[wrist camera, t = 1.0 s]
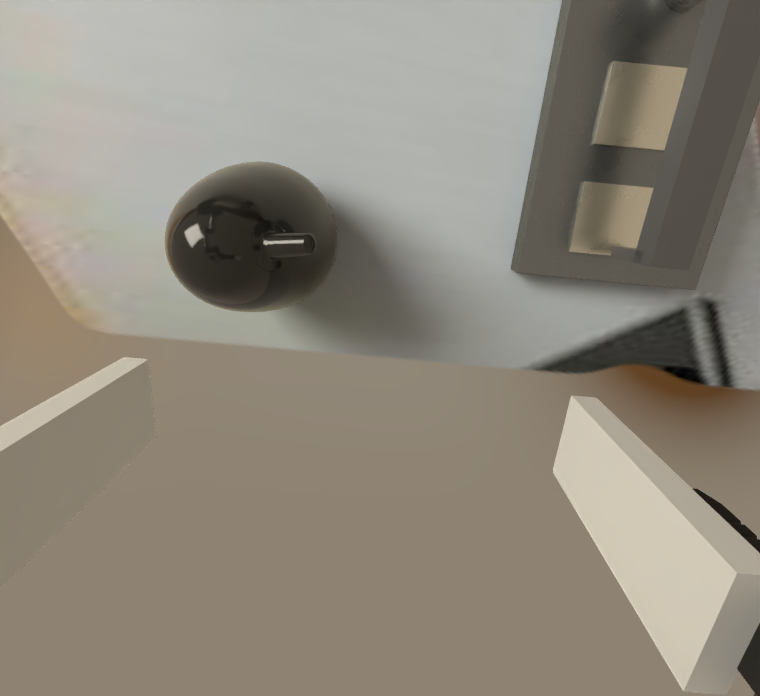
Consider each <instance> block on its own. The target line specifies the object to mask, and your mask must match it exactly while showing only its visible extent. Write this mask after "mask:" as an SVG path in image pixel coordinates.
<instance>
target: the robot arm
mask: <svg viewBox="0 0 760 696" xmlns="http://www.w3.org/2000/svg"><path fill="white" fill-rule="evenodd" d="M155 438H156V427H155V418H154V408H153V398H152V389H151V379H150V369H149V360H148V359H139V358H127V357H124V358H122V359H120V360H118V361H116V362H115V363H113V364H111V365H109V366H107V367H105V368H104V369H102V370H100V371H98V372H97V373H95V374H93V375H91V376H89V377H88V378H86V379H84V380H82V381H80V382H79V383H77V384H75V385H73V386H72V387H70V388H68V389H66V390H64V391H63V392H61V393H59V394H57V395H56V396H54V397H52V398H50V399H48V400H46V401H45V402H43V403H41V404H39V405H38V406H36V407H34V408H32V409H30V410H29V411H27V412H25V413H23V414H21V415H20V416H18V417H16V418H14V419H13V420H11V421H9V422H7V423H5V424H4V425H2V426H0V589H1V588H2V587H3V586H4V585H5V584H6V583H7V582H8V581H9V580H10V579H11V578H12V577H13V576H14V575H15V574H16V573H17V572H18V571H19V570H20V569H21V568H22V567H23V566H25V564H26V563H28V561H30V560H31V559H32V558H33V557H34V556H35V555H36V554H37V553H38V552H39V551H40V550H41V549H42V548H43V547H44V546H45V545H46V544H47V543H48V542H49V541H50V540H51V539H52V538H53V537H54V536H55V535H56V534H57V533H58V532H60V531H61V529H63V528H64V527H65V526H66V525H67V524H68V523H69V522H70V521H71V520H72V519H73V518H74V517H75V516H76V515H77V514H78V513H79V512H80V511H81V510H82V509H83V508H84V507H85V506H86V505H87V504H88V503H89V502H90V501H91V500H92V499H93V498H94V497H95V496H96V495H98V494H99V493H100V492H101V491H102V490H103V489H104V488H105V487H106V486H107V485H108V484H109V483H110V482H111V481H112V480H113V479H114V478H115V477H116V476H117V475H118V474H119V473H120V472H121V471H122V470H123V469H124V468H125V467H126V466H127V465H128V464H130V463H131V461H132V460H133V459H134V458H136V457H137V456H138V455H139V454H140V453H141V452H142V451H143V450H144V449H145V448H146V447H147V446H148V445H149V444H150V443H151V442H152V441H153V440H154V439H155ZM553 473H554V475H555V476H556V478H557V480H558V481H559V483H560V485H561V487H562V488H563V490H564V492H565V493H566V495H567V497H568V498H569V500H570V502H571V503H572V505H573V507H574V508H575V510H576V512H577V513H578V515H579V517H580V519H581V520H582V522H583V523H584V525H585V527H586V529H587V530H588V532H589V534H590V535H591V537H592V539H593V540H594V542H595V544H596V545H597V547H598V549H599V550H600V552H601V554H602V555H603V557H604V559H605V561H606V562H607V564H608V565H609V567H610V569H611V571H612V572H613V574H614V576H615V577H616V579H617V581H618V582H619V584H620V586H621V587H622V589H623V591H624V592H625V594H626V596H627V597H628V599H629V601H630V602H631V604H632V606H633V608H634V609H635V611H636V613H637V614H638V616H639V617H640V619H641V621H642V623H643V624H644V626H645V628H646V629H647V631H648V633H649V634H650V636H651V638H652V639H653V641H654V643H655V644H656V646H657V648H658V649H659V651H660V653H661V655H662V656H663V658H664V660H665V661H666V663H667V665H668V666H669V668H670V670H671V671H672V673H673V675H674V676H675V678H676V680H677V681H678V683H679V685H680V686H681V688H682V690H683V691H684V692H696V693H706V694H718V695H726V694H727V692H728V690H729V688H730V686H731V684H732V682H733V680H734V678H735V676H736V674H737V672H738V671H739V672H740V673H741V674H742V676H743V677H744V679H745V680H746V681H747V683H748V684H749V685H750V687H751V688H752V690H753V691H754V692H755V694H754V696H760V540H758V539H757V536H756V535H755V534H754V533H753V532H752V531H750V529H748V528H747V527H746V526H745V525H741V522H740V520H739V519H737V518H736V517H735V516H734V515H733V514H732V513H731V512H730V511H729V510H727V509H726V508H725V507H724V506H723V505H722V504H720V503H719V502H717V501H716V500H714V499H713V498H711V497H709V496H708V495H706V494H705V493H703V492H701V491H700V490H698V489H692V488H691V487H690V486H689V485H687V484H686V483H685V482H684V481H683V480H682V479H681V478H680V477H679V476H678V475H677V474H676V473H675V472H674V471H673V470H672V469H671V468H670V467H669V466H667V465H666V464H665V463H664V462H663V461H662V460H661V459H660V458H659V457H658V456H657V455H656V454H655V453H654V452H653V451H652V450H651V449H649V447H648V446H646V445H645V444H644V443H643V442H642V441H641V440H640V439H639V438H638V437H637V436H636V435H635V434H634V433H633V432H632V431H631V430H630V429H629V428H628V427H626V426H625V425H624V424H623V423H622V422H621V421H620V420H619V419H618V418H617V417H616V416H615V415H614V414H613V413H612V412H611V411H609V409H608V408H606V407H605V406H604V405H603V404H602V403H601V402H600V401H599V400H598V399H597V398H593V397H582V396H571V399H570V403H569V407H568V411H567V415H566V419H565V423H564V427H563V431H562V436H561V439H560V443H559V448H558V452H557V456H556V460H555V464H554V468H553Z"/></svg>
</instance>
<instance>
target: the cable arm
mask: <svg viewBox="0 0 760 696" xmlns="http://www.w3.org/2000/svg"><path fill="white" fill-rule="evenodd" d="M759 56H760V0H707V2H706V5H705V9H704V12H703V16H702V19H701V23H700V26H699V30H698V33H697V37H696V40H695V44H694V47H693V51H692V55H691V58H690V62H689V65H688V69H687V72H686V76H685V79H684V83H683V86H682V90H681V93H680V97H679V100H678V104H677V107H676V111H675V114H674V118H673V121H672V125H671V128H670V132H669V135H668V139H667V143H666V146H665V150H664V153H663V157H662V160H661V164H660V167H659V171H658V174H657V178H656V181H655V185H654V188H653V192H652V195H651V199H650V202H649V206H648V209H647V213H646V216H645V220H644V223H643V227H642V231H641V234H640V238H639V241H638V245H637V248H630V247H620V246H613V249H612V252H611V256H610V257H612V258H616V259H620V260H624V261H628V262H632V263H636V264H640V265H644V266H648V267H656V268H667V269H677V270H687V271H689V269H690V266H691V263H692V260H693V257H694V254H695V251H696V248H697V245H698V242H699V238H700V235H701V232H702V229H703V226H704V223H705V220H706V217H707V214H708V211H709V208H710V205H711V202H712V199H713V196H714V193H715V190H716V187H717V184H718V181H719V178H720V175H721V172H722V169H723V166H724V163H725V160H726V156H727V153H728V150H729V147H730V144H731V141H732V138H733V135H734V132H735V129H736V126H737V123H738V120H739V117H740V114H741V111H742V108H743V105H744V102H745V99H746V96H747V93H748V90H749V87H750V84H751V81H752V78H753V75H754V71H755V68H756V65H757V62H758V59H759Z"/></svg>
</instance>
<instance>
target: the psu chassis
mask: <svg viewBox="0 0 760 696" xmlns="http://www.w3.org/2000/svg"><path fill="white" fill-rule="evenodd" d="M706 2H707V0H562V5H561V10H560V15H559V20H558V26H557V31H556V36H555V41H554V46H553V52H552V57H551V62H550V67H549V72H548V78H547V83H546V88H545V93H544V98H543V104H542V109H541V114H540V119H539V124H538V130H537V135H536V140H535V145H534V151H533V156H532V161H531V166H530V171H529V177H528V182H527V187H526V192H525V197H524V203H523V208H522V213H521V218H520V223H519V229H518V234H517V239H516V244H515V249H514V255H513V260H512V265H511V269H512V270H513V271H515V272H517V273H526V274H536V275H546V276H556V277H567V278H577V279H587V280H597V281H607V282H618V283H628V284H638V285H648V286H659V287H669V288H679V289H689V290H695V289H696V286H697V283H698V280H699V277H700V274H701V271H702V268H703V265H704V262H705V259H706V256H707V253H708V250H709V247H710V244H711V241H712V239H713V236H714V233H715V230H716V227H717V224H718V221H719V218H720V215H721V212H722V209H723V206H724V203H725V200H726V197H727V194H728V191H729V188H730V185H731V182H732V180H733V177H734V174H735V171H736V168H737V165H738V162H739V159H740V156H741V153H742V150H743V147H744V144H745V141H746V138H747V135H748V132H749V129H750V126H751V124H752V121H753V118H754V115H755V112H756V109H757V106H758V103H759V100H760V56H759V59H758V62H757V65H756V68H755V71H754V75H753V78H752V81H751V84H750V87H749V90H748V93H747V96H746V99H745V102H744V105H743V108H742V111H741V114H740V117H739V120H738V123H737V126H736V129H735V132H734V135H733V138H732V141H731V144H730V147H729V150H728V153H727V156H726V160H725V163H724V166H723V169H722V172H721V175H720V178H719V181H718V184H717V187H716V190H715V193H714V196H713V199H712V202H711V205H710V208H709V211H708V214H707V217H706V220H705V223H704V226H703V229H702V232H701V235H700V238H699V242H698V245H697V248H696V251H695V254H694V257H693V260H692V263H691V266H690V269H689V271H687V270H677V269H667V268H656V267H648V266H644V265H640V264H636V263H632V262H628V261H624V260H620V259H616V258H612V257H610V256H611V252H612V249H613V246H620V247H630V248H637V245H638V241H639V238H640V234H641V231H642V227H643V223H644V220H645V216H646V213H647V209H648V206H649V202H650V199H651V195H652V192H653V188H654V185H655V181H656V178H657V174H658V171H659V167H660V164H661V160H662V157H663V153H664V150H665V146H666V143H667V139H668V135H669V132H670V128H671V125H672V121H673V118H674V114H675V111H676V107H677V104H678V100H679V97H680V93H681V90H682V86H683V83H684V79H685V76H686V72H687V69H688V65H689V62H690V58H691V55H692V51H693V47H694V44H695V40H696V37H697V33H698V30H699V26H700V23H701V19H702V16H703V12H704V9H705V5H706Z"/></svg>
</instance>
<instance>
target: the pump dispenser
mask: <svg viewBox="0 0 760 696" xmlns="http://www.w3.org/2000/svg"><path fill="white" fill-rule="evenodd" d="M165 250H166V255H167V259H168V262H169V265H170V267H171V269H172V271H173V273H174V274H175V276H176V277H177V279H178V280H179V282H180V283H181V284H182V285H183V286H184V287H185V288H186V289H187V290H188V291H189V292H190V293H192V294H193V295H194V296H196V297H197V298H199V299H201V300H202V301H204V302H206V303H208V304H211V305H213V306H216V307H219V308H222V309H227V310H232V311H240V312H266V311H273V310H277V309H281V308H285V307H288V306H291V305H294V304H296V303H298V302H300V301H302V300H304V299H305V298H307V297H308V296H310V295H311V294H312V293H314V292H315V291H316V290H317V289H318V288H319V287H320V286H321V285H322V283H323V282H324V281H325V279H326V278H327V276H328V275H329V273H330V271H331V269H332V266H333V264H334V261H335V257H336V252H337V228H336V223H335V219H334V216H333V213H332V211H331V208H330V206H329V204H328V203H327V201H326V199H325V198H324V196H323V195H322V193H321V192H320V191H319V190H318V188H317V187H316V186H315V185H314V184H313V183H312V182H311V181H309V180H308V179H307V178H306V177H304V176H303V175H301V174H300V173H298V172H296V171H295V170H292V169H290V168H288V167H285V166H282V165H279V164H275V163H270V162H246V163H241V164H236V165H232V166H229V167H225V168H223V169H220V170H218V171H216V172H214V173H212V174H210V175H208V176H206V177H205V178H203V179H202V180H200V181H199V182H197V183H196V184H195V185H193V186H192V187H191V188H190V189H189V190H188V191H187V192H186V193H185V194H184V195H183V196H182V197H181V198H180V199H179V201H178V202H177V204H176V205H175V207H174V208H173V210H172V212H171V214H170V217H169V219H168V222H167V226H166V232H165Z"/></svg>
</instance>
